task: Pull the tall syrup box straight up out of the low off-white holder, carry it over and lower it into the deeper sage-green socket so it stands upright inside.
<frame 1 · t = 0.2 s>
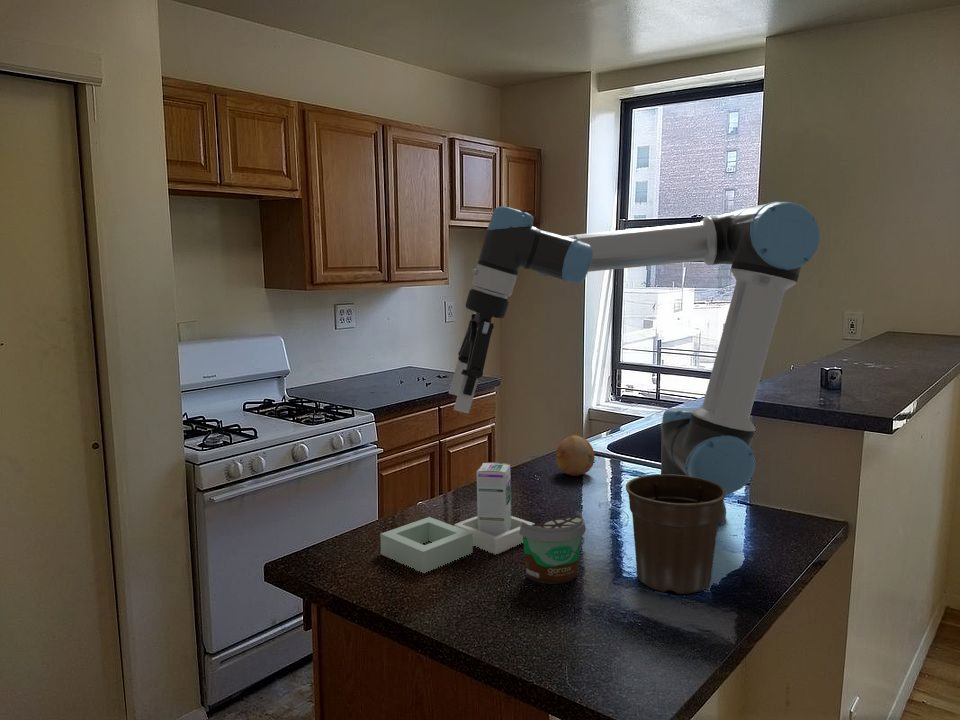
hand: (457, 402, 136), 27 cm above the worktop, tool tilted 15°, fingers open, 13 cm apart
syrup box: (494, 539, 142), resting in holder
plant pot: (672, 579, 124), on the worktop
socket: (426, 553, 135), on the worktop
onion: (574, 475, 183), on the worktop
holder: (494, 538, 142), on the worktop
food container: (559, 579, 125), on the worktop
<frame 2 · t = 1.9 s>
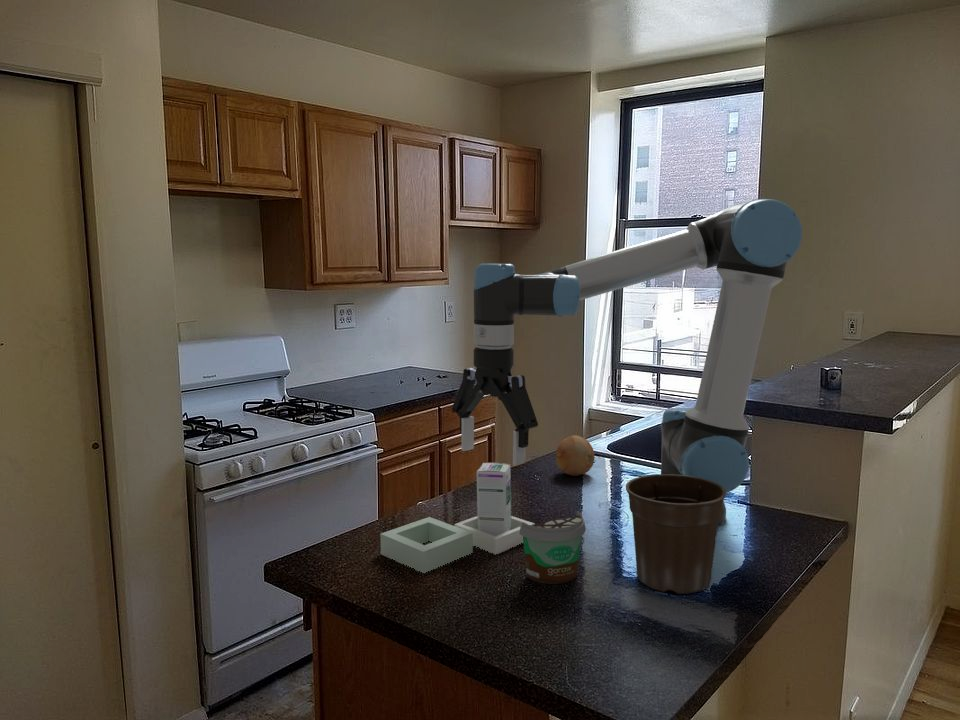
hand: (492, 456, 140), 16 cm above the worktop, tool pointing down, fingers open, 13 cm apart
nothing on the worktop moved.
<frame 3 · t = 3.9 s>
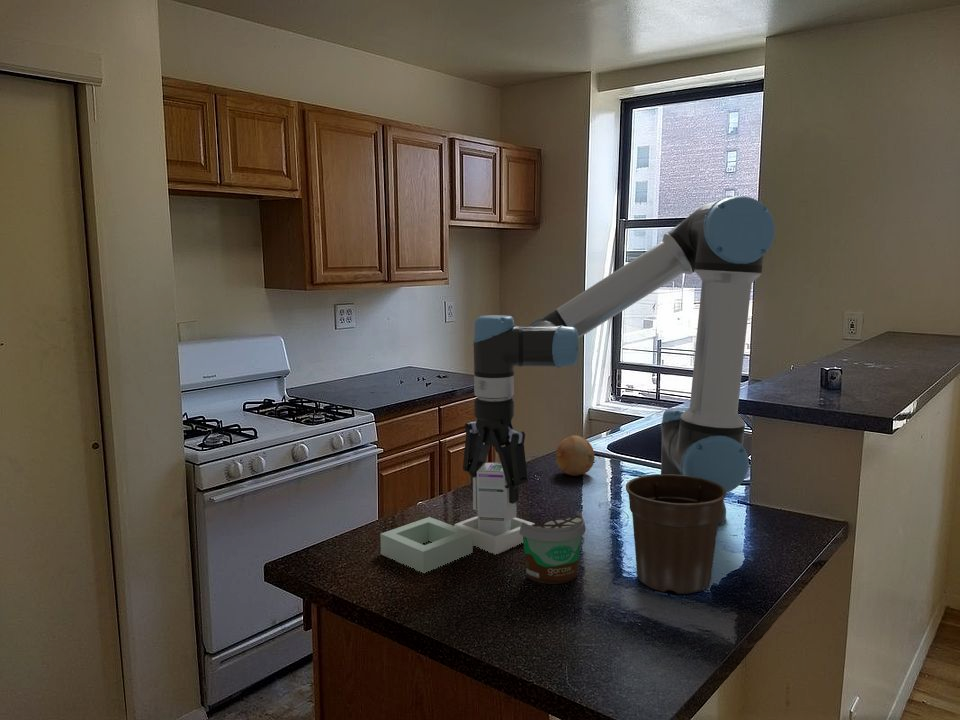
hand: (494, 513, 142), 5 cm above the worktop, tool pointing down, fingers closed on syrup box, 7 cm apart
syrup box: (494, 539, 142), resting in holder, touching gripper
everything else where it was.
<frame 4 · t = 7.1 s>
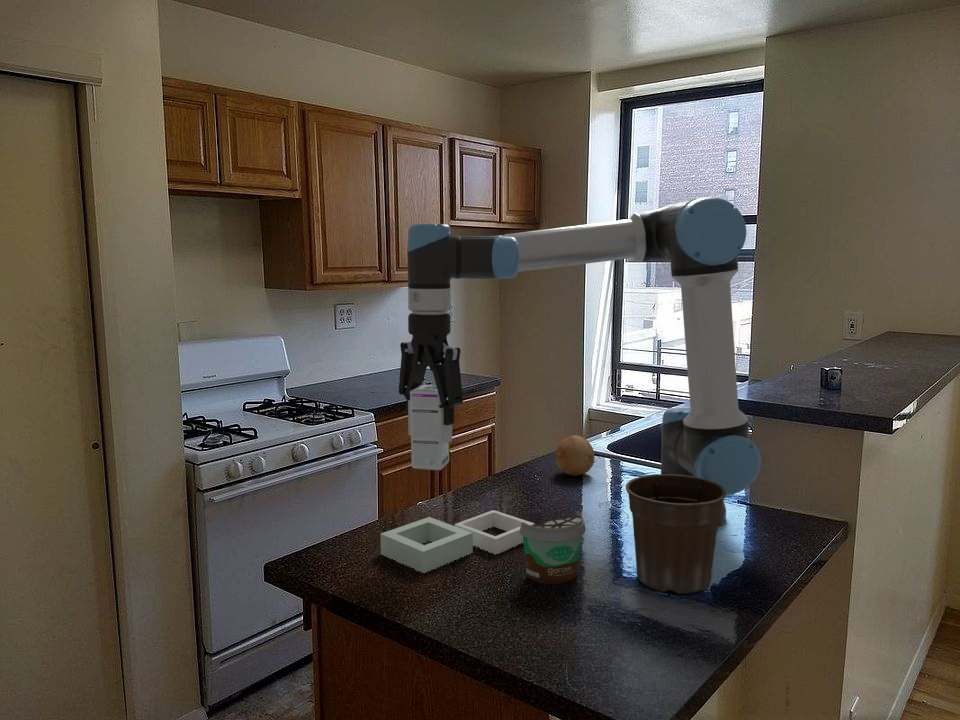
hand: (429, 437, 133), 22 cm above the worktop, tool pointing down, fingers closed on syrup box, 7 cm apart
syrup box: (430, 466, 134), point 16 cm above the worktop, touching gripper
everything else where it was.
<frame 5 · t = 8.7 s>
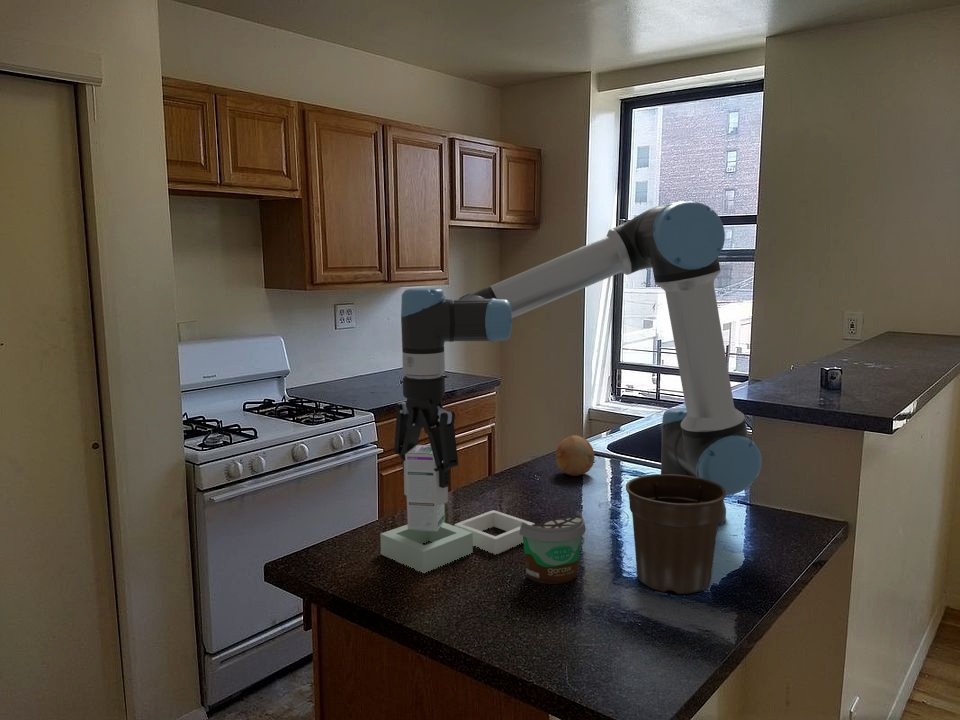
hand: (425, 498, 134), 11 cm above the worktop, tool pointing down, fingers closed on syrup box, 7 cm apart
syrup box: (426, 526, 135), point 5 cm above the worktop, touching gripper
everything else where it was.
when the fingers open (7 cm above the worktop, at t = 10.3 s): syrup box drops 1 cm, resting in socket.
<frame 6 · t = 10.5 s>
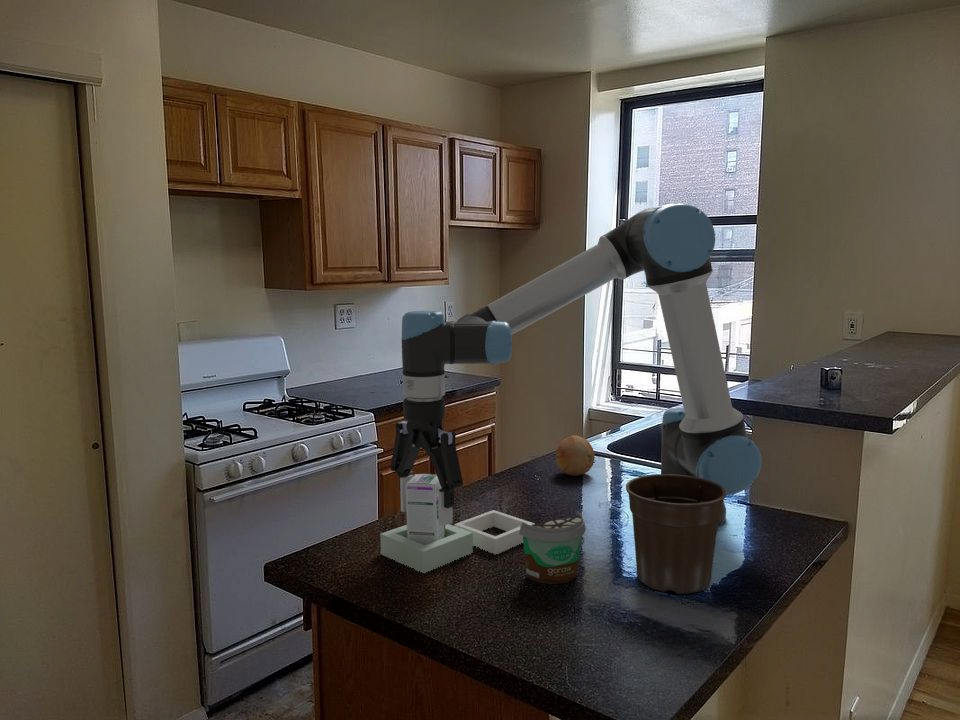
hand: (426, 516, 134), 7 cm above the worktop, tool pointing down, fingers open, 10 cm apart
syrup box: (426, 554, 135), resting in socket
everything else where it was.
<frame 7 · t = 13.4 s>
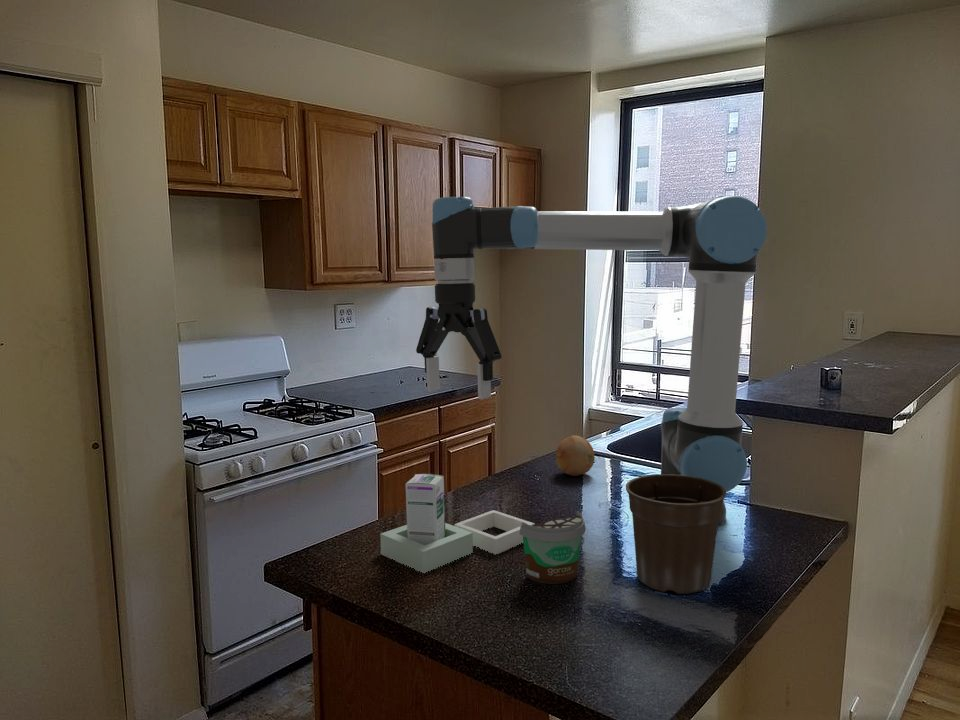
hand: (458, 394, 139), 28 cm above the worktop, tool pointing down, fingers open, 13 cm apart
nothing on the worktop moved.
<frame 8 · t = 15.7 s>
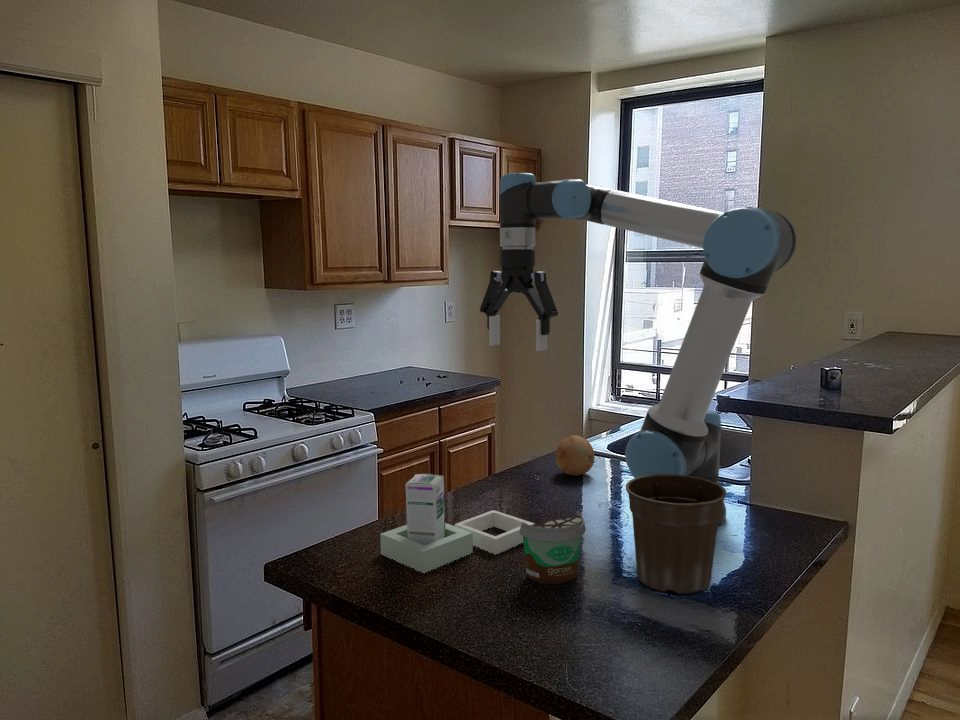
hand: (517, 347, 158), 35 cm above the worktop, tool pointing down, fingers open, 13 cm apart
nothing on the worktop moved.
at the end: syrup box 0.0 cm off-centre on the socket, point 0.0 cm above the socket's base; syrup box tilted 0°; the gripper is holding nothing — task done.
